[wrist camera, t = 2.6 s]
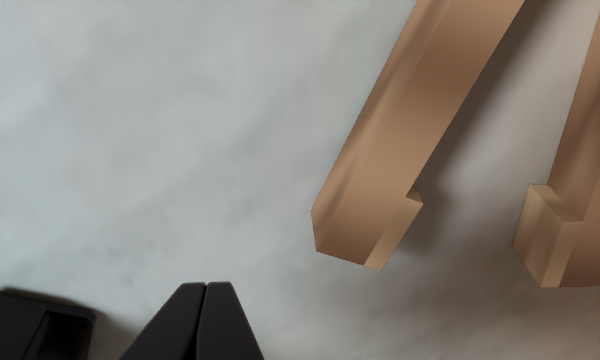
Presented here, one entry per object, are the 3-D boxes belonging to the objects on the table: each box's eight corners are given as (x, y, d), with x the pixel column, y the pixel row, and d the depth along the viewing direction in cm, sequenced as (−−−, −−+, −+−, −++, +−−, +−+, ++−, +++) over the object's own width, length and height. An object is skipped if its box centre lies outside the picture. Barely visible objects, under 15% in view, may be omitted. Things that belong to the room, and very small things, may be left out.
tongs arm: (403, 240, 20) (430, 308, 17) (310, 210, 19) (319, 277, 16) (727, -268, 12) (894, -327, 9) (601, -361, 11) (737, -466, 8)
